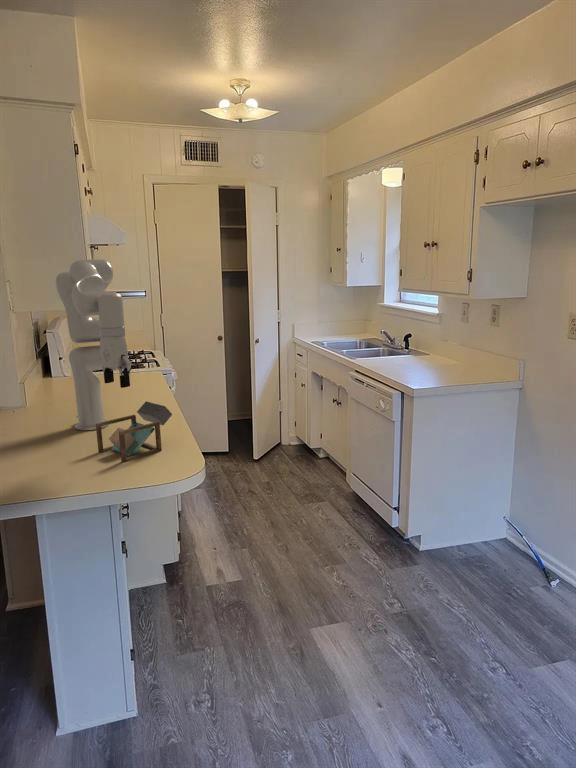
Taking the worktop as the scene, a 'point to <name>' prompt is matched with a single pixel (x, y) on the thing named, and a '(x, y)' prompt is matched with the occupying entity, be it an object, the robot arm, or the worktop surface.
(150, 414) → the chair seat and backrest
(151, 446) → the frame
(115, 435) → the pinkish beige cube
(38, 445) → the worktop surface
